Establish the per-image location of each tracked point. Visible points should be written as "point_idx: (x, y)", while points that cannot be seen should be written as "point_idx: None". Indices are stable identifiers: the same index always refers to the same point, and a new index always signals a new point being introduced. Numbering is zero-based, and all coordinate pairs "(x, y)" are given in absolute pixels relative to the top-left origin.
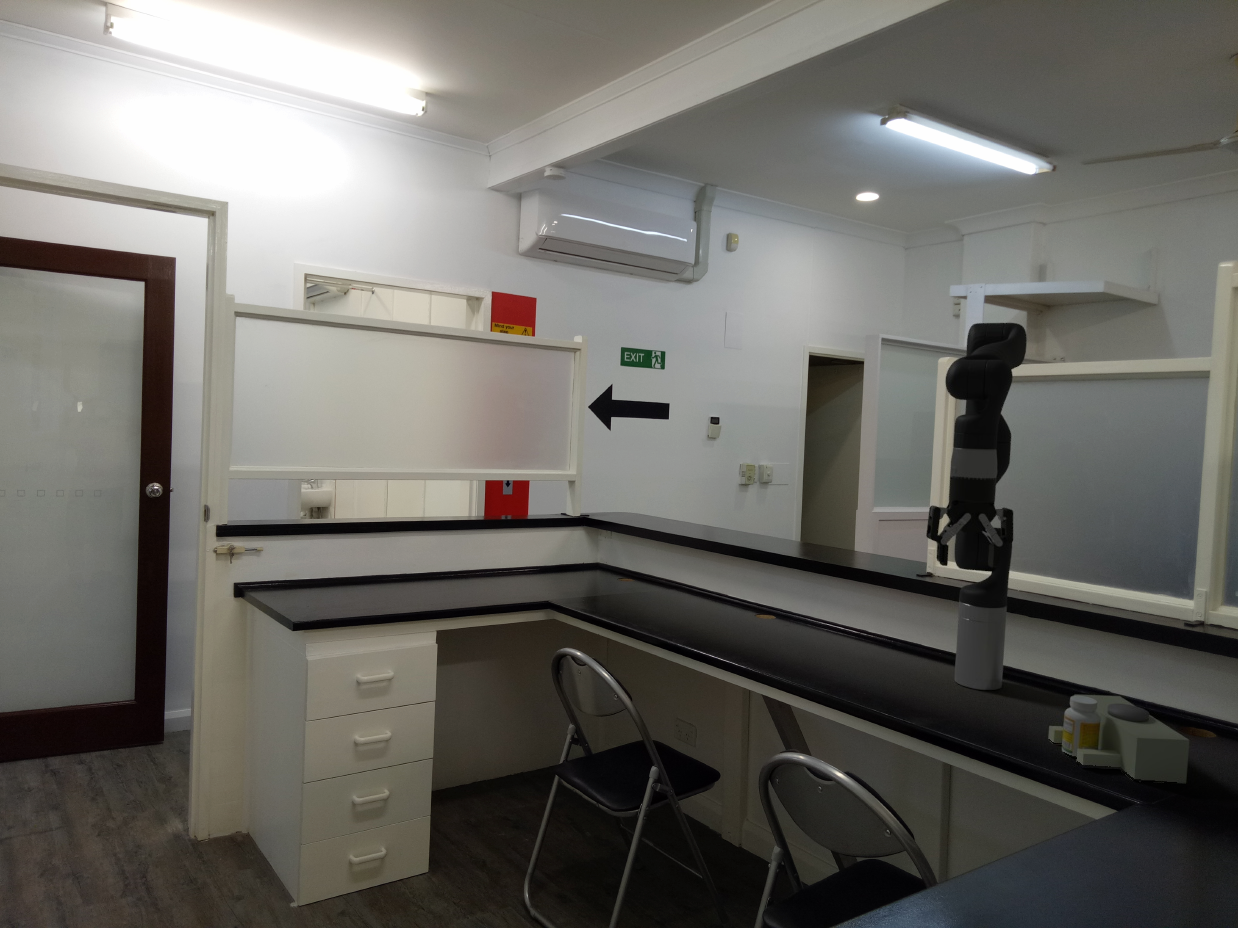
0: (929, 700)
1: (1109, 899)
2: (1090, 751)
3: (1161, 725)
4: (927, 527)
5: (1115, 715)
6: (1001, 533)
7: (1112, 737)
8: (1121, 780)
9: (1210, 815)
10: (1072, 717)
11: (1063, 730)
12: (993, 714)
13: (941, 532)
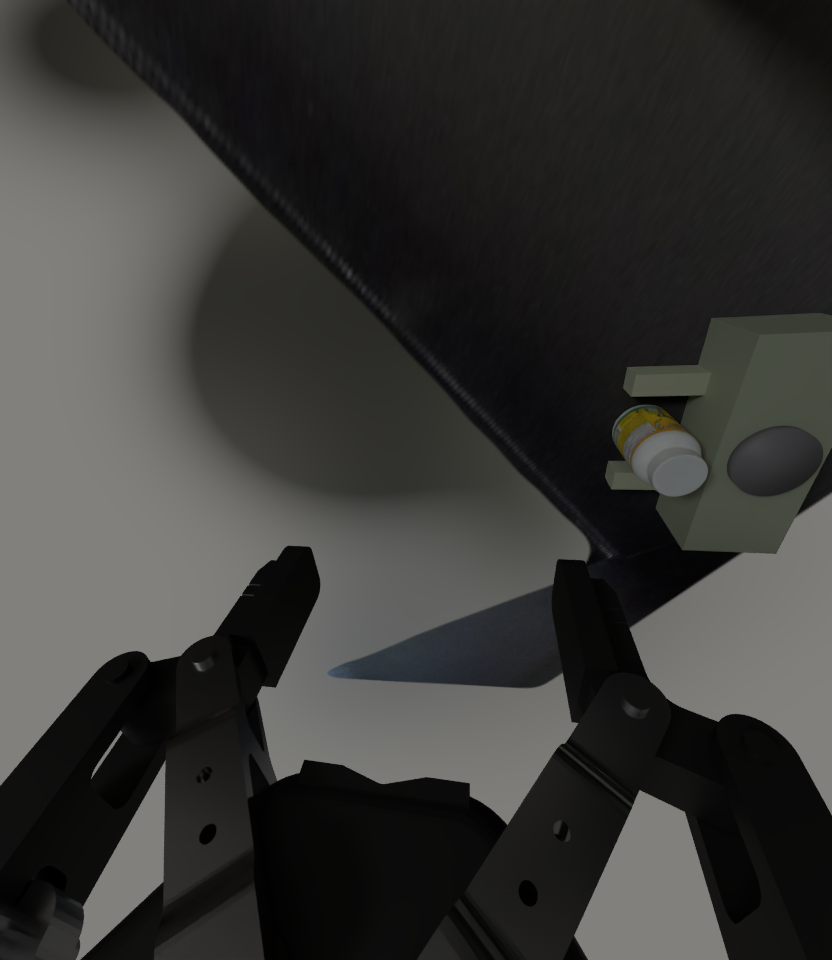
0: (466, 135)
1: (465, 671)
2: (630, 480)
3: (792, 500)
4: (46, 741)
5: (729, 473)
6: (735, 802)
7: None
8: (637, 506)
9: (678, 579)
10: (634, 473)
11: (625, 437)
12: (590, 224)
13: (180, 714)
